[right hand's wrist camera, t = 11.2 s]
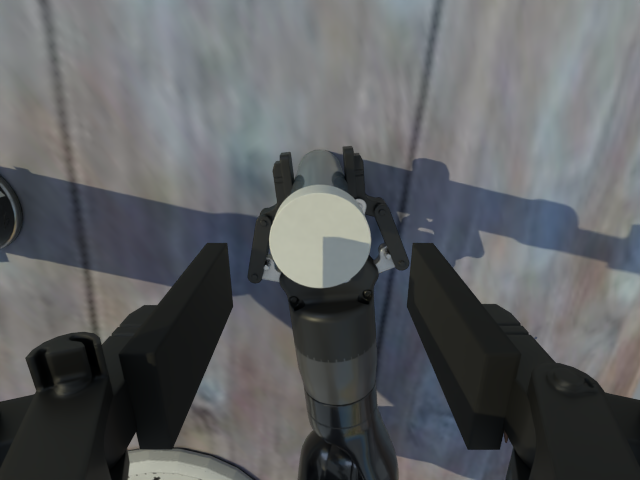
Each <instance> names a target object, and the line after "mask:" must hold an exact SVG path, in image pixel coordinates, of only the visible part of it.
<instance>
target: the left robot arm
mask: <svg viewBox="0 0 640 480" xmlns="http://www.w3.org/2000/svg"><path fill="white" fill-rule="evenodd" d="M343 160H344V173H345V179H346V182H347V185H348V188H349V191H350V194H351V196H352V197H353V198H354V199H355V200H356V201H357V202H358V204H359V205H360V207H361V208H362V210H363V212H364V215H365V214H366V215H370V216H374V217H375V219H376V221H377V224H378V226H379V229H380V231H381V234H382V236H383V239H384V242H385V243H383V244H381V245H380V246H379V248H378V252H379V255H378V257H377V258H376V259H375V260H373V259H372V258H371V256H370V255H368V258H367V260H366V262H365V264H364V265H363V267H362V268H361V269H360V271H359V272H358V273H357V274H356V275H355V276H353V277H352V278H351V279H349V280H348V281H346V282H344V283H342V284H339V285H337V286H333V287H328V288H313V287H308V286H304V285H301V284H298V283H296V282H295V281H293V280H291V279H290V278H288V277H287V276H286V275H285V274H284V273H283V272H282V271H281V270H280V269H279V268H278V266H277V265H276V263H275V261H274V259H273V257H272V254H268V252H269V236H270V230H271V226H272V224H273V221H274V218H275V216H276V213H277V211H278V209H279V207H280V205H281V204H282V203H283V202H284V200H285V199H286V198H287V197H288V196H289V195H290V192H291V189H292V186H293V183H294V174H293V166H292V158H291V153H290V152H286V153H281V154H280V161H276V162H275V164H274V168H273V176H274V183H275V190H276V197H277V204H276V205H274V206H272V207H270V208H264V209H263V210H262V211H261V213H260V216H259V217H258V219H257V221H256V226H255V232H254V239H253V245H252V251H251V258H250V264H249V271H248V279H249V281H250V282H252V283H259V282H260V281H261V280H262V279H264V280H270V281H275V282H279V283H280V285H281V287H282V288H283V290H284V291H285V292H286V294H287V296H288V301H289V308H290V315H291V322H292V328H293V335H294V342H295V349H296V355H297V362H298V367H299V371H300V374H301V377H302V380H303V385H304V391H305V398H306V405H307V412H308V418H309V421H310V424H311V426H312V429H313V431H312V432H311V433H310V434H309V435H308V436H307V438H306V439H305V441H304V444H303V446H302V450H301V455H300V462H299V471H298V480H399V471H398V462H397V457H396V453H395V450H394V447H393V444H392V441H391V439H390V436H389V434H388V432H387V430H386V427H385V425H384V423H383V420H382V417H381V415H380V412H379V410H378V406H377V392H376V367H377V346H376V327H375V310H374V292H373V289H374V285H375V282H376V280H377V279H378V275H379V273H381V272H384V271H386V270H389V269H392V268H394V267H396V269H398V270H405V269H407V268H408V266H409V260H408V257H407V255H406V252H405V249H404V247H403V244H402V241H401V239H400V236H399V234H398V231H397V228H396V226H395V223H394V220H393V218H392V215H391V212H390V210H389V208H388V206H387V205H386V203H385V202H384V200H383V199H382V198H379V197H377V198H374V197H370V196H368V195H366V194H365V184H364V167H363V160H362V158H361V156H360V155H359V153H354V152H353V147H352V146H346V147H343ZM21 227H22V210H21V206H20V203H19V200H18V198H17V196H16V194H15V193H14V191H13V190H12V188H11V187H10V185H9V184H8V183H7V182H6V181H5V180H4V179H3V178H2V177H1V176H0V249H1V248H4V247H6V246H8V245H9V244H11V243H12V242H13V241H14V240H15V239H16V238H17V236H18V234H19V232H20V230H21Z"/></svg>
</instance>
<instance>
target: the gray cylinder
mask: <svg viewBox="0 0 640 480" xmlns="http://www.w3.org/2000/svg"><path fill="white" fill-rule="evenodd" d="M311 185H329V186H333V187H337V188H339V189H341V190H343V191H345V192H347V193H348V194H349V195H351V194H350V191H349V188H348V185H347V182H346V179H345V176H344V173H343V170H342V167H341V164H340V162H339V160H338V159H337V157H336V156H335V155H333V154H332V153H331V152H328V151H326V150H314V151H312V152H309V153H308V154H306V155H305V156H304V157H303V159H302V160H301V162H300V164H299V167H298V170H297V173H296V177H295V180H294V183H293V186H292V189H291V192H290V195H291V194H292V193H294V192H295V191H297V190H299V189H301V188H304V187H307V186H311ZM290 195H289V196H290Z"/></svg>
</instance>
